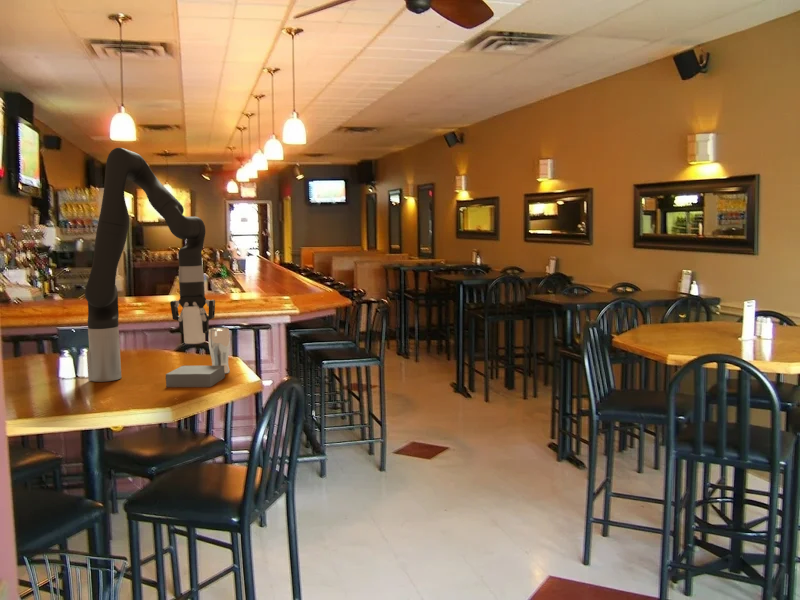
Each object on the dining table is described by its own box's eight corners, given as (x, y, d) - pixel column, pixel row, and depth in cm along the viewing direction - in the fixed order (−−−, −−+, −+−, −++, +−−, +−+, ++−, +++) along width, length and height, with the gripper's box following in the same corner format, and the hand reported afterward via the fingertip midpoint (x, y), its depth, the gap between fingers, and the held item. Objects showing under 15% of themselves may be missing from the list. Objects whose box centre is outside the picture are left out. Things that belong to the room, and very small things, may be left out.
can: (180, 344, 222) (177, 306, 221) (191, 340, 228) (189, 304, 227) (198, 344, 220) (196, 306, 219) (209, 341, 227) (207, 304, 225)
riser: (166, 387, 219) (165, 374, 218) (183, 377, 233) (182, 365, 232) (210, 386, 218) (210, 374, 218) (224, 377, 232) (224, 365, 231)
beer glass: (220, 370, 245) (218, 327, 243) (235, 371, 241) (233, 328, 240) (205, 373, 239) (203, 329, 237) (220, 375, 235) (218, 330, 234)
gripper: (164, 281, 219) (167, 335, 221) (210, 280, 218) (213, 334, 220) (173, 279, 227) (176, 331, 228) (217, 279, 226) (220, 330, 227)
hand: (194, 332), depth 224 cm, fingers closed on can, 6 cm apart
